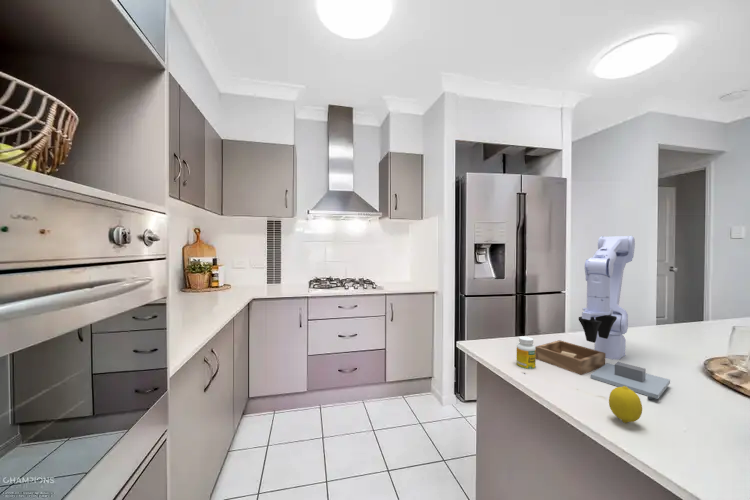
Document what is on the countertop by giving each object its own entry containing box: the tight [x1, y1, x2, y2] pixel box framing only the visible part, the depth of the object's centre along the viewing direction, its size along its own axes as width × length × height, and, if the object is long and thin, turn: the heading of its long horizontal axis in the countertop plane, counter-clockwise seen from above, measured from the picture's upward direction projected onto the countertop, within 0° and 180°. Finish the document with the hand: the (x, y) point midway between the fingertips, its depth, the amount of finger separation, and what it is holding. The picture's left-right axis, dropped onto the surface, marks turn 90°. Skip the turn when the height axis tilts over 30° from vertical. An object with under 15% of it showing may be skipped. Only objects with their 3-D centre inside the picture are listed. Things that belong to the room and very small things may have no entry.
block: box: [561, 351, 577, 358], centre depth 96 cm, size 4×4×2 cm
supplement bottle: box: [516, 335, 537, 370], centre depth 92 cm, size 5×5×10 cm
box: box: [535, 339, 606, 376], centre depth 95 cm, size 14×14×5 cm
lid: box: [590, 361, 671, 400], centre depth 82 cm, size 14×14×6 cm
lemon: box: [608, 386, 643, 424], centre depth 64 cm, size 6×6×8 cm
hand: (597, 339), depth 91 cm, fingers open, 7 cm apart
